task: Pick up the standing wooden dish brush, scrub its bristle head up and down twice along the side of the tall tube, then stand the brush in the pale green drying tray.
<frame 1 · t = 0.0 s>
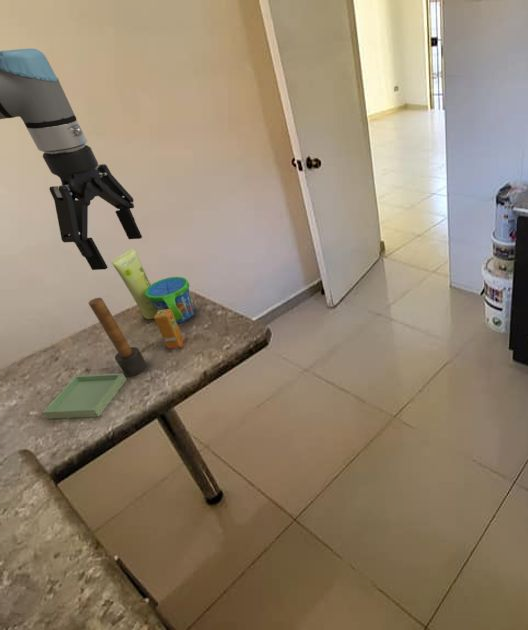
hand: (119, 252, 91), 29 cm above the countertop, tool pointing down, fingers open, 13 cm apart
tray: (89, 398, 97), on the countertop
supplement box: (177, 344, 112), on the countertop
brush: (136, 369, 105), on the countertop
snack cup: (180, 317, 122), on the countertop
tube: (153, 315, 123), on the countertop
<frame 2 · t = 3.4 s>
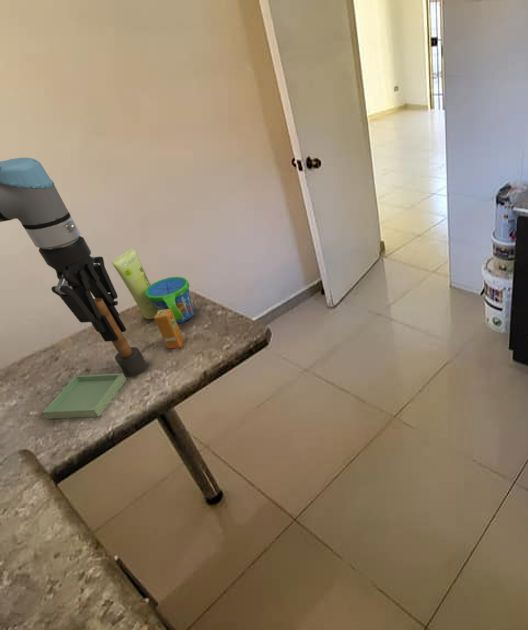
hand: (115, 335, 98), 11 cm above the countertop, tool pointing down, fingers closed on brush, 3 cm apart
brush: (136, 369, 105), on the countertop, touching gripper
everything else where it was.
when the fingers open (11 cm above the countertop, at t = 24.0 s): brush stays where it is, resting on tray.
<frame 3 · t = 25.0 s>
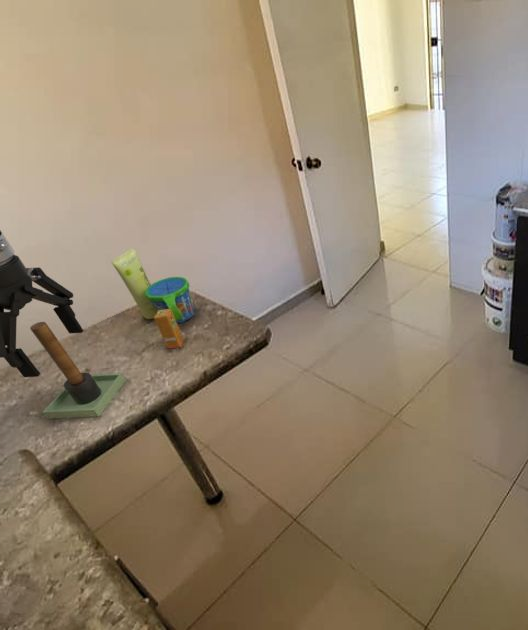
hand: (56, 352, 89), 14 cm above the countertop, tool pointing down, fingers open, 13 cm apart
brush: (88, 396, 97), point 1 cm above the countertop, touching tray
everything else where it was.
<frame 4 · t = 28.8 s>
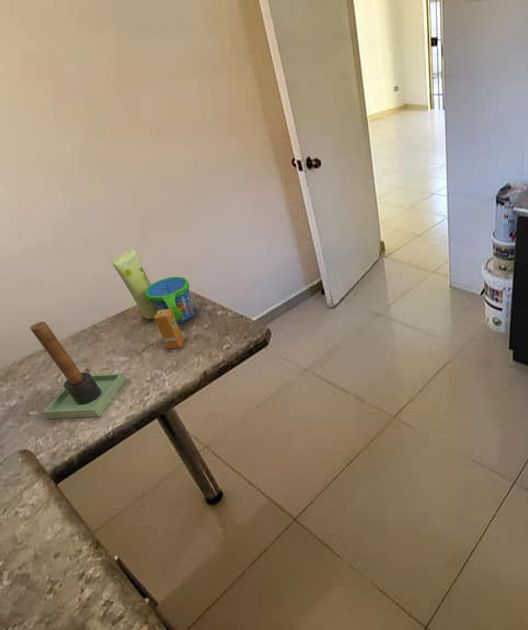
nothing on the countertop moved.
at the end: brush inside the target area in the tray (0.2 cm from its centre), point 0.6 cm above the tray's base; tube tilted 0°; tube moved 0.2 cm from its start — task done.
